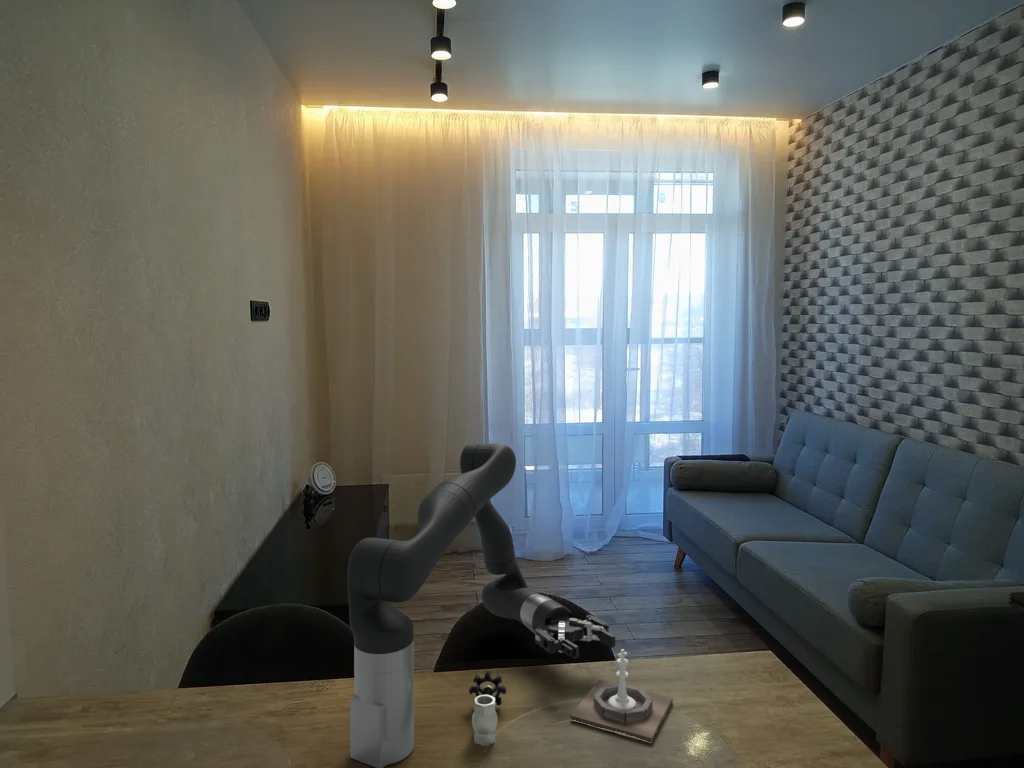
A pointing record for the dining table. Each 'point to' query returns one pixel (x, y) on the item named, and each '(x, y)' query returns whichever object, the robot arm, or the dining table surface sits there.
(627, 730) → the board
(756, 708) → the dining table surface
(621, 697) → the chess piece
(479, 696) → the valve
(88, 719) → the dining table surface
